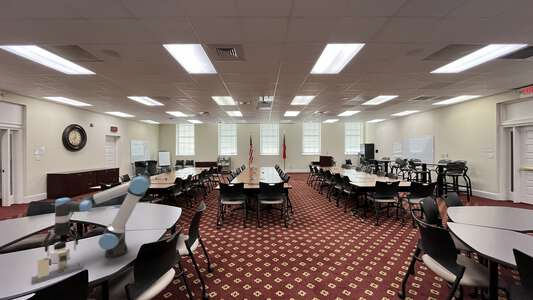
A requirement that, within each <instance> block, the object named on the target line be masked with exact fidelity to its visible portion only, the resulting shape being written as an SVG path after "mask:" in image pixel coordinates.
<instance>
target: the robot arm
mask: <svg viewBox="0 0 533 300" xmlns="http://www.w3.org/2000/svg"><path fill="white" fill-rule="evenodd" d="M151 183H152V181H151V178H150V177H149V176H148V175H146V174H141V175H138V176H135V177H134V178H132V179H130V180H129V181H128V182H125V183H122V184H120V185H117V186H114V187H111V188H108V189H105V190H102V191H101V192H97V193H95V194H94V193H93V194H92V195H88V196H86V197H84V198H81V199H80V200H71V198H69V197H62V198H58V199H56V200H55V202H54V203H55V204H54V222H55V223H54V230H48V231H47V234H46V236H45V238H44V239H43V241H42V243H41V244H40V246H41V248H43V247H44V252H45V253H46V256H47V257H46V258H50V245H51V243H53V241H54V240H56V238H58V237H61V236H66V235H67V236H70V237H71V238H72V239H73V250H74V251H76V250H77V245H78V244H79V240H81V239H82V236H81V234H80V233H79V232H78V230H77V228H76V226H75V225H73V226H70V224H71V223H70V220H71V213H85V212H91V209H92V207H94V206H96V205H99V204H101V203H103V202H106V201H109V200H112V199H115V198H118V197H120V196H123V195H125V194H126V197H125V198H124V200H123V202H122V204H121V206H120V207H119V209H118V211H117V213H116V214H115V217H114V218H113V220H112V222H111V223H109V224H107V227H106V228H105V230H104V232H103V234H102V235H101V236H100V237H99V238H98V245H99V247H100V248H101V249H103V250H105V251H104V258H109V259H110V258H111V259H113V258H119V257H122V256H124V255H126V254H127V253H128V251H129V247H128V245H127V242H126V225H127V223H128V221H129V219H130V217H131V216H132V214H133V212H134V210H135V208H136V206H137V204H138V202H139V201H140V199H141V198H143V197H144V196H145V194H146V192H147V190H148V189H149V188H150V186H151V185H152V184H151ZM70 231H73V232H74V233H75V235H76V236H75V235H74V234H73V233H71V232H70ZM53 233H54V235H53ZM51 235H53V236H52V237H51ZM50 237H51V238H50ZM49 238H50V239H49Z"/></svg>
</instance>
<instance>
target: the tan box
mask: <svg viewBox="0 0 533 300" xmlns="http://www.w3.org/2000/svg"><path fill="white" fill-rule="evenodd" d="M63 266H65V267H68V259H67V252H66V251H64V252H60V253H58V263H57V267H58V270H59V269H62V268H63Z"/></svg>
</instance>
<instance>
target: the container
mask: <svg viewBox="0 0 533 300" xmlns="http://www.w3.org/2000/svg"><path fill="white" fill-rule="evenodd" d="M64 251H66V252H67V260H69V259H70V247H67V242H66V241H58V242H56V243H54V244H53V250H52V251H51V252H50V251H49V259H51V264H58V253H60V252H64Z"/></svg>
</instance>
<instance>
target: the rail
mask: <svg viewBox="0 0 533 300" xmlns="http://www.w3.org/2000/svg"><path fill="white" fill-rule="evenodd" d="M36 263H37V269H36V271H37V274H36V275H35V276H32V277H31V285H35V283H36V284H39V283H42V282H45V281H48V280H51V279H55V278H58V277H62V276H65V275H68V274H72V273H74V272H77V271H81V270H84V265H83V263H81V261H78V263H76V264H74V265H70V266H67V267H65V266H63V268H62V269H59V268H58V269H55V270H53V271H50V266H51V265H52V263H51V259H50V257H44V258H41V259H37V261H36Z"/></svg>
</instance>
